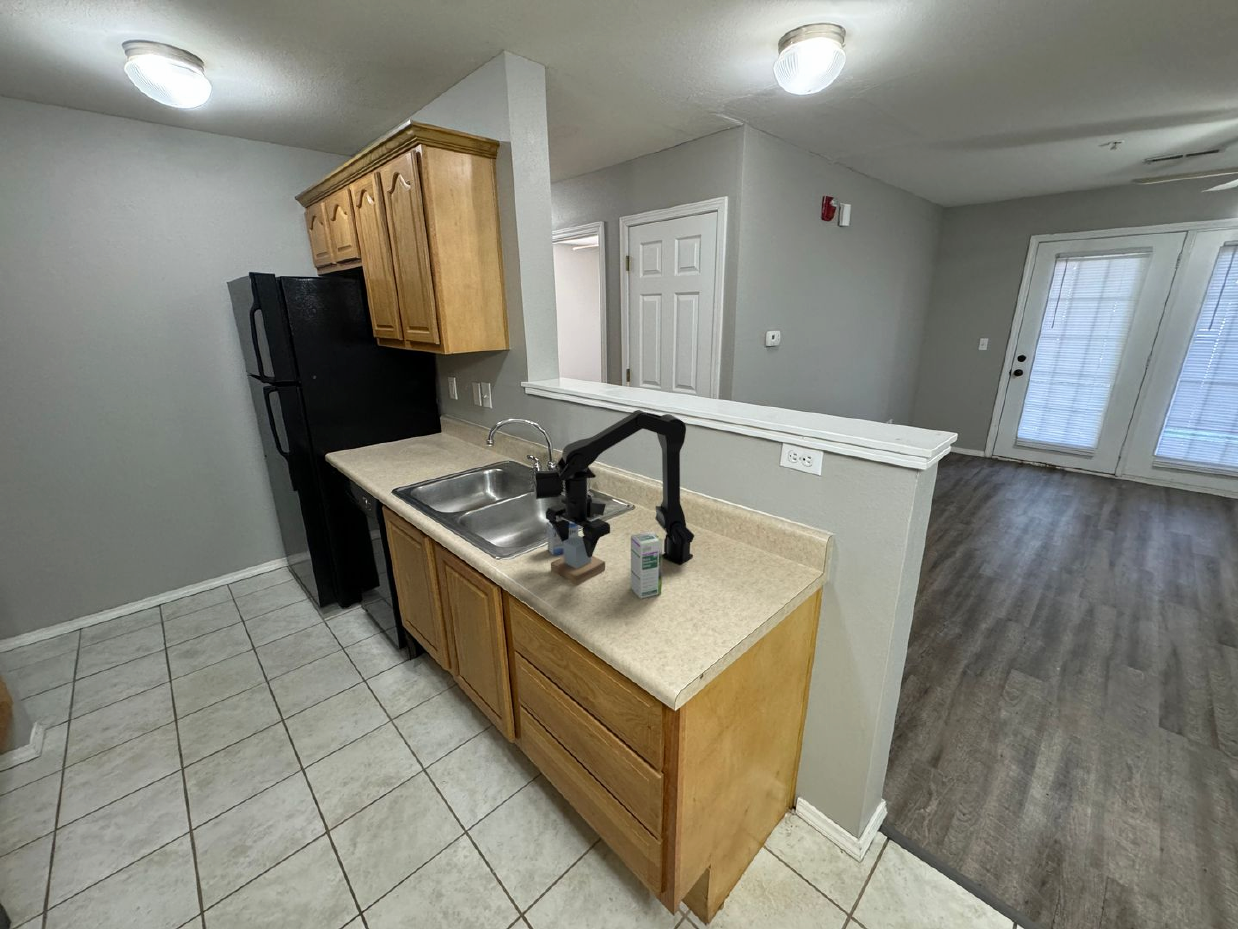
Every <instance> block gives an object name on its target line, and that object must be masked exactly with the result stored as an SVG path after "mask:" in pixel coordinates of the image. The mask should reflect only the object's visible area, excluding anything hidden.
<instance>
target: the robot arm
mask: <svg viewBox="0 0 1238 929" xmlns="http://www.w3.org/2000/svg"><path fill="white" fill-rule="evenodd" d="M641 430H647V431H650V432H653V433H656V435H657V439H658V442H659V445H660V448H661V455H662V456H661V457H662V458H661V460H662V465H661V468H662V502H661V504H660V505H655V512H656V513H655V517H654V518H655V520H656V522H657V523H658V525H659V526H660V527H661V529H662V530H663V531H664V532H665V533H666V534H665V538H664V541H663V552H664V553H662V559H665V560H668V561H670V562H672V563H674V564H677V565H681V564H683V563H685V562H686V561H688V560H689V559H692V558H693V557H694V555H693V554H692V553H691V543H692V542H693V540H694V537H695V534H694V533H693V532H692V531H691V530H690V529H689V528H688V527H687V522H686V516H685V512H684V510H683V507H682V504H681V449H682V448H683V446H684V443H685V440H686V433H687V426H686V423H685V422H684V421H683V420H682V419H679V418H678V417H676V416H675V415H672V414H670V413H665V414H662V415H660V414H655V413H651V412H646V411H643V410H641V409H636V410H634V411H633V412H631V414H629V415H627V416H626V417H623V418H622V419H621V420H618V421H617V422H615V423H613V424H612V425H610V426H608V427H607V428H605V429H604V430H601V431H599V432H598V433H597V434H595V435H593V436H591V437H586V438H583V439H582V438H581V439H579V440H576V441H573V442H571V443H568V444H567V445H566V446H565V447H564V448H563V450H562V453H561V457H560V459H559V460H558V462H557V463H556V464H555V466H554V469H553V470H534V476H533V492H534V499H535V500H539V499H540V500H541V499H552V498H559V497H560V496H562V493H563V492H564V497H563V498H561V503H559V504H557V505H553V506H551V507H548V508H547V509H546V511H545V519H546V520H548V522H549V523H551V524H552V526H553V528H554V529H555V531H556V532H557V534H558V536H559V537H560V539H561V541H562V543H563V541H565V540H567V539H569V524H570V522H571V523H573V524H577V525H578V527H579V526H580V527H582V529H581V530H582V534H583V535H581V537H582V538H583V542H584V546H585V550H586V553H587V556H588V557H589V558H590V557H592V556H594V552H595V550H596V547H597V543H598V542H599V540H600V538H602V537H604V536H607V535H608V534H611V524H610V523H609V522H607V521H604V520H602V519H600V518H596V519H594V520H589V519H592V518H594V517H595V515H600V516H603V517H604V515H605V510H606V506H607V504H606V503H605V502H602V501H600V500H597V499H594V498H592V495H591V494H589V492H588V491H589V489H588V488H589V485H588V484H589V483H588V482H589V480H588V479H592V478H593V479H594V478H596V477H597V475H596V474H595V472H594V471H593V470H591V468H590V466H591V465H592V464H593V463H594V462H595V461H596V460H597V459H598V458H599V456H600V455H601V454H603V452H605V451H607V450H609V449H610V448H613V447H614V446H615V445H617V444H619V443H621V442H622V441H624V440H626V439H627V438H629V437H631V436H632V435H634V434H636V433H638V432H639V431H641ZM563 481H564V482H563Z"/></svg>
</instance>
